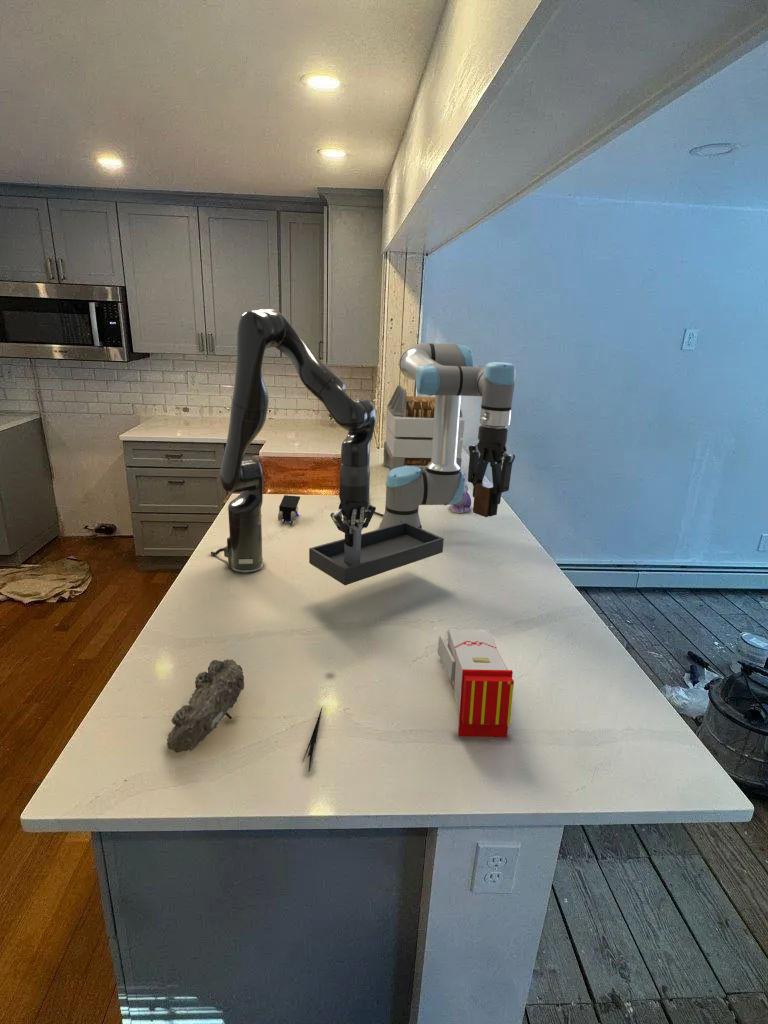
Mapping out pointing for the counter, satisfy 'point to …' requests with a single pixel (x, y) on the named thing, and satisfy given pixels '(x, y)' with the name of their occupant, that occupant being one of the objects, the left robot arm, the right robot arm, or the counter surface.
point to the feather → (313, 740)
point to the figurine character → (288, 509)
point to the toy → (478, 682)
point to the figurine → (463, 501)
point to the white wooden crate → (412, 431)
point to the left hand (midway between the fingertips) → (352, 544)
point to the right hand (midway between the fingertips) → (484, 512)
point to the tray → (375, 552)
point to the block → (482, 498)
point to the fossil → (206, 705)
